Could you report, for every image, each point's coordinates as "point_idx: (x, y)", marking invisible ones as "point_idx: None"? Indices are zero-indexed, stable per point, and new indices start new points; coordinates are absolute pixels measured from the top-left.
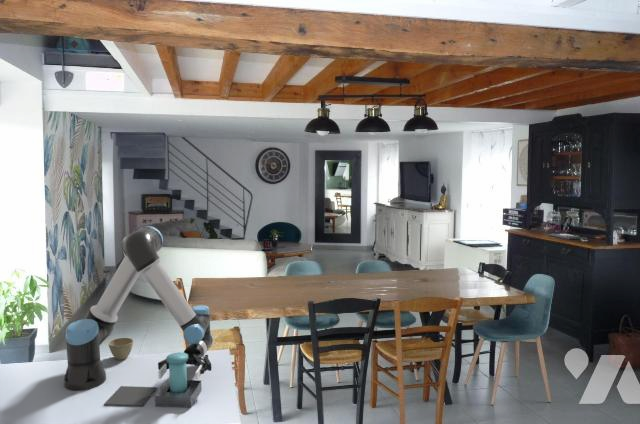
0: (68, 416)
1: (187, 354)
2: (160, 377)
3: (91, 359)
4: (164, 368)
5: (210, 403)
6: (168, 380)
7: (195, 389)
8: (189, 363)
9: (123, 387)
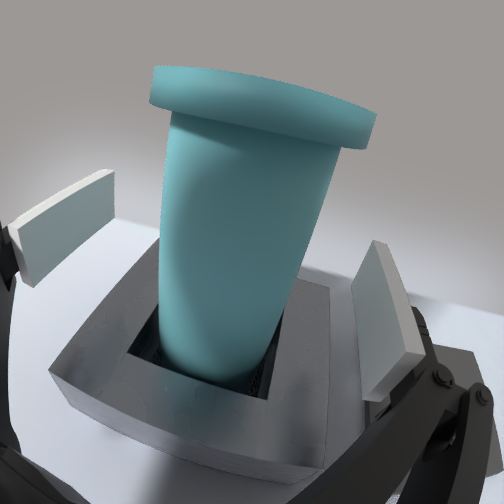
0: (489, 318)
1: (157, 66)
2: (355, 278)
3: None
4: (383, 315)
5: (79, 280)
6: (310, 454)
7: (118, 282)
8: (73, 490)
9: (493, 462)
